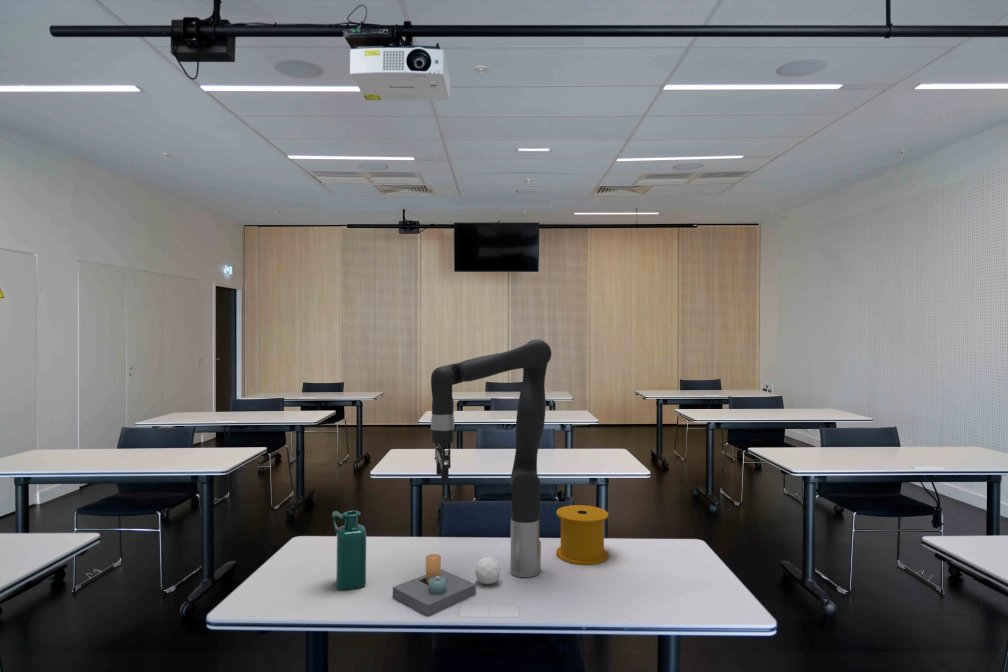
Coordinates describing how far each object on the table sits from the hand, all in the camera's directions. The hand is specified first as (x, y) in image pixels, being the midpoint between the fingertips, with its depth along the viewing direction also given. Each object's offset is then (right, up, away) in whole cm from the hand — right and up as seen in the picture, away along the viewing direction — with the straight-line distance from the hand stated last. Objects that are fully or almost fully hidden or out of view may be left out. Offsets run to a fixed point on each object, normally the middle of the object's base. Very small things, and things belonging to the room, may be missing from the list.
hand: (442, 477), depth 179 cm
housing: (0, -30, -18) cm, 35 cm away
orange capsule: (-1, -30, -14) cm, 33 cm away
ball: (+15, -30, -9) cm, 35 cm away
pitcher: (-27, -30, -11) cm, 42 cm away
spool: (+47, -31, +14) cm, 58 cm away
